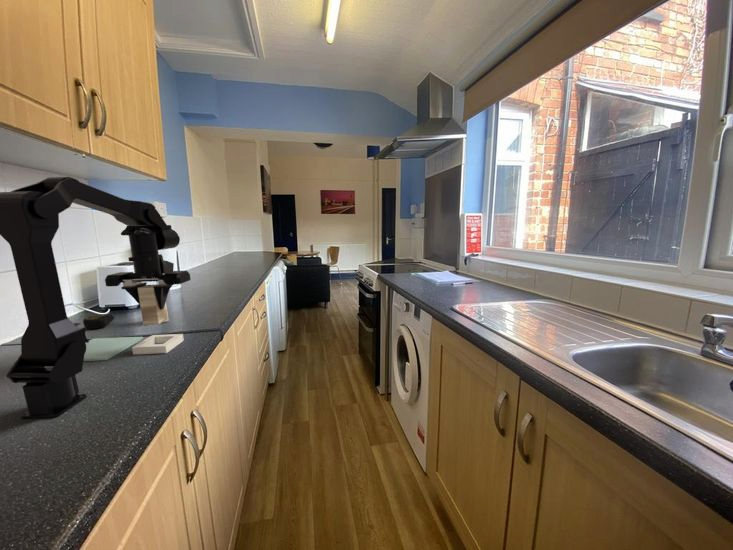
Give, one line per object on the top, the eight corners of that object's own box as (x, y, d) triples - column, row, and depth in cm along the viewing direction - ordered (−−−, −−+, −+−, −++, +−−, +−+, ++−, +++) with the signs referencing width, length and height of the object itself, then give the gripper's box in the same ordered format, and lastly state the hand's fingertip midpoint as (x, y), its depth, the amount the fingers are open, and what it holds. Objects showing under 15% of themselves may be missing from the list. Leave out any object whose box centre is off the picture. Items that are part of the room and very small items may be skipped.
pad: (106, 360, 76) (105, 357, 76) (48, 362, 76) (47, 360, 76) (143, 338, 90) (142, 336, 90) (94, 340, 89) (93, 338, 89)
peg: (158, 323, 81) (153, 287, 79) (143, 324, 80) (137, 288, 78) (167, 319, 84) (162, 284, 83) (153, 319, 84) (147, 284, 82)
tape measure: (105, 329, 99) (103, 318, 98) (79, 332, 97) (77, 321, 96) (115, 322, 105) (113, 312, 105) (91, 325, 103) (89, 314, 103)
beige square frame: (166, 353, 80) (165, 346, 79) (133, 354, 79) (131, 347, 79) (183, 340, 88) (182, 333, 88) (153, 341, 88) (152, 335, 87)
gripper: (196, 248, 87) (203, 300, 90) (130, 249, 86) (138, 302, 89) (175, 252, 76) (183, 311, 79) (98, 254, 75) (109, 314, 78)
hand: (153, 309), depth 82 cm, fingers closed on peg, 4 cm apart
